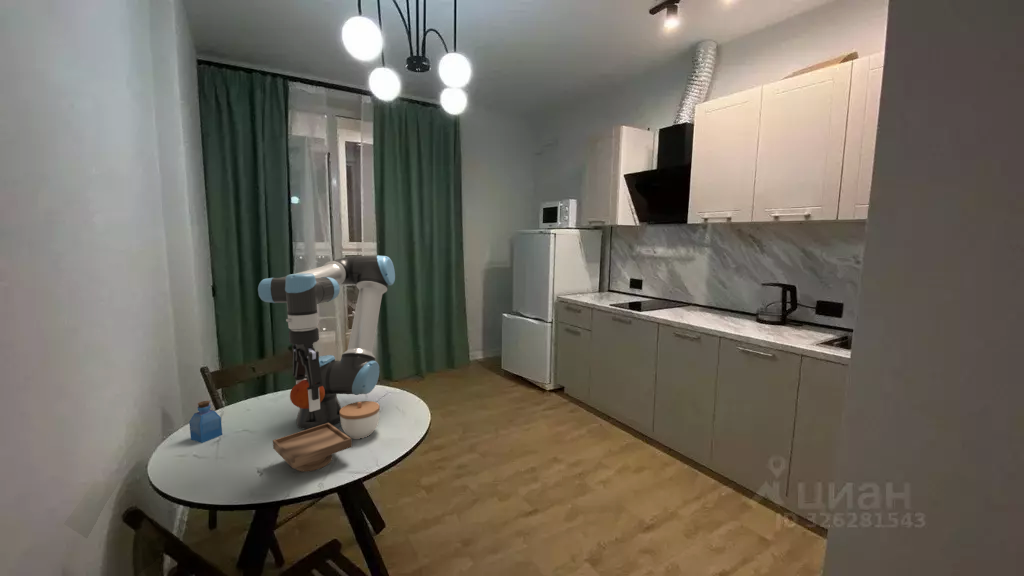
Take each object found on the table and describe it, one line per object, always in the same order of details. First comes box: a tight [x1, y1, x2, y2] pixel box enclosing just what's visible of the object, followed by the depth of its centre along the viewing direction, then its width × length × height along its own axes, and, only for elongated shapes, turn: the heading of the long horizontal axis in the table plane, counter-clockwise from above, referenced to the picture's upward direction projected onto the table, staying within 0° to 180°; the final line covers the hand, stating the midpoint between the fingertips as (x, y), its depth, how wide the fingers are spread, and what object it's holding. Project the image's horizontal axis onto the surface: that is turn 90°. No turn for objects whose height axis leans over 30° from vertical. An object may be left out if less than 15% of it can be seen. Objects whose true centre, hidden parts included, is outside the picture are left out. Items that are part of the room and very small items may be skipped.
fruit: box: [289, 379, 325, 409], centre depth 117 cm, size 9×9×8 cm
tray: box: [272, 423, 353, 473], centre depth 119 cm, size 16×16×7 cm
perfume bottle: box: [189, 400, 223, 444], centre depth 135 cm, size 6×6×12 cm
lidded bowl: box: [339, 400, 381, 440], centre depth 136 cm, size 13×13×11 cm
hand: (308, 405), depth 117 cm, fingers closed on fruit, 9 cm apart
